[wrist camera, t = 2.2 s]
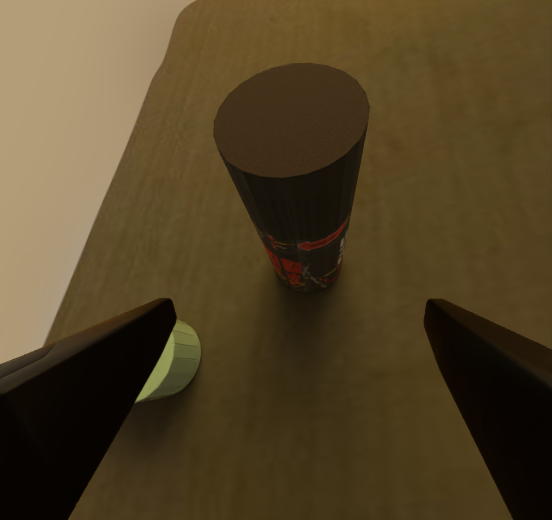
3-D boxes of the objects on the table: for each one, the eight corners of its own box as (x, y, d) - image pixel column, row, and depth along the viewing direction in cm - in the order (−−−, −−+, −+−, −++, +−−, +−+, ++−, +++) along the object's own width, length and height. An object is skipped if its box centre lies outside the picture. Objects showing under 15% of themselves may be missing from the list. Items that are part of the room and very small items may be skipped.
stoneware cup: (178, 305, 24) (149, 293, 20) (214, 361, 22) (190, 360, 17) (97, 372, 23) (47, 373, 19) (125, 439, 20) (76, 457, 16)
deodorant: (277, 232, 25) (224, 71, 12) (340, 231, 24) (365, 54, 10) (272, 291, 23) (200, 181, 9) (342, 293, 22) (375, 173, 8)
